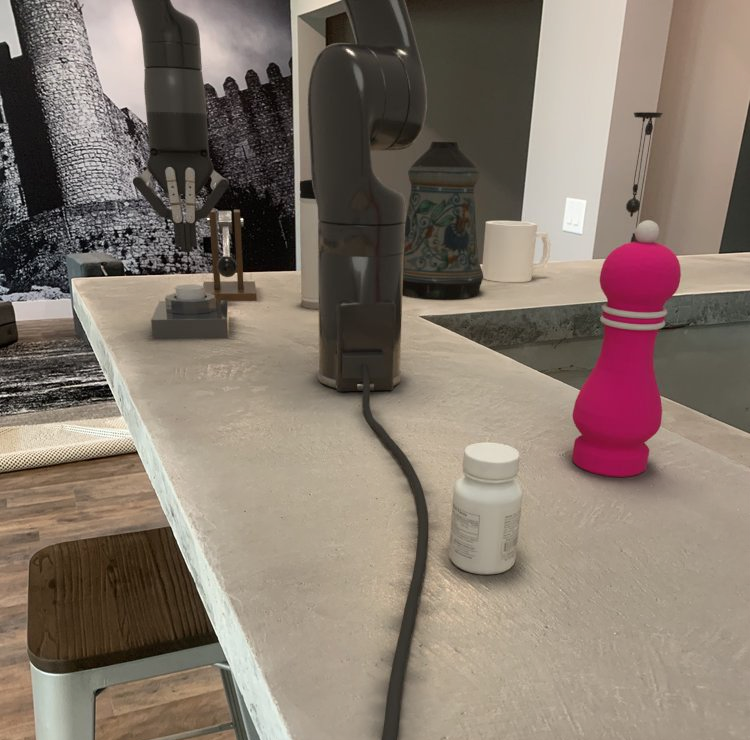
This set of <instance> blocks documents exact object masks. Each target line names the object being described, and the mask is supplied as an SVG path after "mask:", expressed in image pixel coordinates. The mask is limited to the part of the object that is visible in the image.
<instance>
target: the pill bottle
mask: <svg viewBox="0 0 750 740" xmlns="http://www.w3.org/2000/svg"><path fill="white" fill-rule="evenodd" d="M462 458H463V459H462V469H461V470H462V473H463V475H462V476H460V477H459V478H458V479H457V480H456V481H455V483H454V485H453V492H452V503H451V505H452V506H451V520H450V532H449V547H448V556H449V559H450V561H451V562H452V563H453V564H454V565H455V567H457V568H458V569H461V570H462V571H465V572H466V573H470V574H475V575H497V574H501V573H504V572H507V571H508V570H510V569H512V567H513V566H514V565H515V562H516V559H517V549H518V539H519V531H520V523H521V515H522V514H521V513H522V504H523V495H524V494H523V489H522V486H521V485H520V484H519V482H517V481H516V480H515V479H516V478H517V477H518V473H519V471H520V458H521V457H520V452H519V450H517V449H516V448H515V447H513V446H511V445H508V444H505V443H499V442H490V441H488V442H487V441H486V442H485V441H484V442H476V443H472V444H468V445H467V446H466V447H465V448H464V451H463V457H462Z"/></svg>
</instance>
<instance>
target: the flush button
mask: <svg viewBox="0 0 750 740" xmlns="http://www.w3.org/2000/svg"><path fill="white" fill-rule="evenodd" d="M174 289H175V293H176V299H182V300H196V299H203V298H205V287H204V286H203V284H194V283H193V284H191V283H190V284H189V283H188V284H180V285H176V286H175V287H174Z"/></svg>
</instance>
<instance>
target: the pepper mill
mask: <svg viewBox="0 0 750 740" xmlns="http://www.w3.org/2000/svg"><path fill="white" fill-rule="evenodd" d="M634 233H635V237H636V240H637V242H631V241H630V242H627V243H624V244H621V245H620V246H617V247H616V248H615V249H612V251H611V252H610V253H609V254H608V255H607V257H605V259H604V261H603V262H602V263H603V264H602V267H601V270H600V274H599V284H600V289H601V291H602V292H603V294H604V296H605V298H606V301H607V302H605V303H603V304H602V305H601V310H602V311H601V312H602V313H601V316H600V317H599V321H600V323H602V324H603V325H604V329H603V340H602V345H601V348H600V353H599V356H598V358H597V361H596V363H595V366H594V367H593V369H592V371H591V373H590V374H589V375H588V377H587V379H586V380H585V382H584V383H583V385H582V387H581V388H580V390H579V392H578V394H577V395H576V396H577V397H576V399H575V401H574V405H573V409H572V421H573V424H574V425H575V428H576V430H578V431H579V433H580V435H578V437H576V438H575V439H574V444H573V450H572V455H571V457H572V461H573V463H574V464H575V465H576V466H577V467H579V468H580V469H582V470H584V471H587V472H590V473H593V474H594V475H595V474H596V475H600V476H604V477H613V478H625V477H634V476H638V475H640V474H643V472H644V471H645V470H647V467H648V461H649V455H650V448H649V446H648V445H647V444H646V443H647V442H648V440H651V438H653V437H654V436H655V435H656V434H657V432H658V431H659V430H660V428H661V425H662V416H663V406H662V405H663V404H662V397H661V394H660V391H659V385H658V383H657V379H656V373H655V363H654V355H655V344H656V340H657V336H658V333H659V330H661V329H662V328H664V327H665V326H666V321H665V319H666V317H665V316H667V314H668V310H667V308H665V307H664V306H665V304H666V302H668V300H669V299H671V298H672V297H673V296H674V295H675V294H676V292H677V291H678V289H679V286H680V283H681V278H682V277H681V276H682V273H681V272H682V271H681V264H680V261H679V259H678V256H677V255H676V254H675V253H674V252H673V251H672V249H670V248H669V247H667V246H665V245H663V244H661V243H657V242H656V241H657V239H658V238H659V235H660V227H659V225H658V224H657V222H655V221H653V220H649V219H646V220H644V221H641V222H640V223H639V224H637V228H636V227H635V231H634Z"/></svg>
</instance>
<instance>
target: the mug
mask: <svg viewBox="0 0 750 740" xmlns="http://www.w3.org/2000/svg"><path fill="white" fill-rule="evenodd" d="M537 238H541V240H542V241H541V242H542V244H543V245H542V256H541V258H540V261H539V263H534V258H535V251H536V250H535V249H536V242H537V241H536V240H537ZM551 245H552V244H551V241H550V239H549V234H548V233H547V232H543V231H540V232H539V231H538V223H536V222H531V221H521V220H487V221H485V226H484V239H483V252H482V264H481V269H482V272H483V279H484V280H486V281H491V282H500V283H526V282H530V281H532V279H533V270H545V269H546V267H547V265H548V262H549V260H550V257H551ZM483 279H482V280H483Z"/></svg>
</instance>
